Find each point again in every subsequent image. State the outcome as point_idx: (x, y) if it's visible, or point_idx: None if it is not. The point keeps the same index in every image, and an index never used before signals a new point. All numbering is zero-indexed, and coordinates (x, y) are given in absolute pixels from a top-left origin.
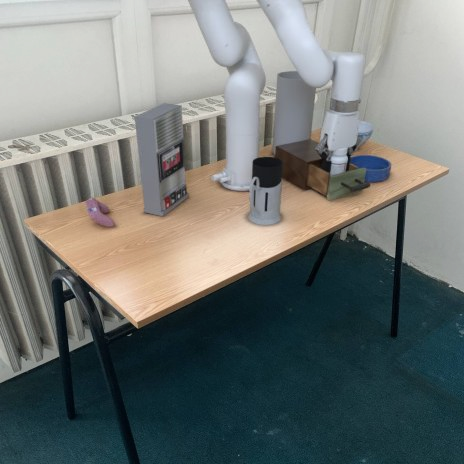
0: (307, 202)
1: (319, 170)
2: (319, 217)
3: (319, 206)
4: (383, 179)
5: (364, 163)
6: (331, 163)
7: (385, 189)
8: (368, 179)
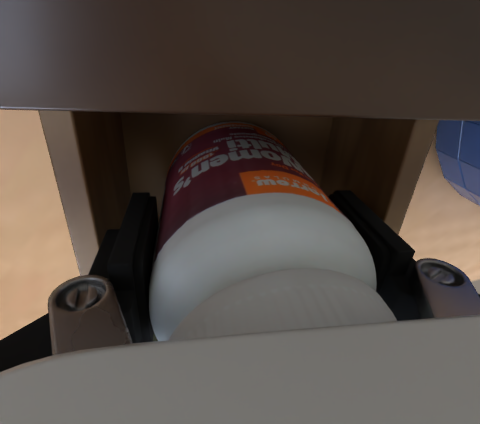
0: (18, 210)
1: (73, 242)
2: (8, 331)
3: (60, 264)
4: None
5: None
6: (153, 331)
7: (425, 254)
8: (454, 185)
